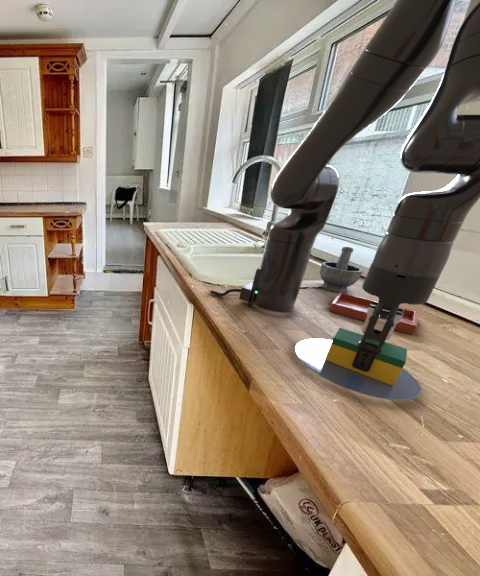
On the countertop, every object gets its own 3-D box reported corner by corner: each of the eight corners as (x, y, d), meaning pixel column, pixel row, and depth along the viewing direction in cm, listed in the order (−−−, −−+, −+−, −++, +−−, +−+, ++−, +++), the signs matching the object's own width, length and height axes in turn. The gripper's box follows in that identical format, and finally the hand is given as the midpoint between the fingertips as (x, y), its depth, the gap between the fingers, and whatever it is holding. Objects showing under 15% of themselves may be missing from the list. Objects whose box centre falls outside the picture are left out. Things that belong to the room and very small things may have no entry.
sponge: (324, 359, 53) (333, 337, 52) (331, 348, 57) (339, 327, 55) (393, 386, 47) (405, 361, 46) (395, 371, 51) (407, 348, 49)
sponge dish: (329, 310, 76) (331, 303, 75) (337, 299, 83) (340, 292, 83) (413, 334, 66) (417, 326, 65) (413, 319, 74) (417, 311, 73)
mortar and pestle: (353, 297, 85) (369, 256, 81) (313, 288, 91) (326, 249, 86) (353, 287, 93) (368, 248, 89) (317, 279, 99) (329, 242, 94)
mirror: (280, 367, 53) (282, 361, 52) (305, 334, 64) (307, 329, 64) (417, 425, 42) (421, 418, 41) (418, 373, 53) (421, 367, 53)
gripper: (377, 254, 53) (343, 338, 59) (366, 268, 43) (326, 368, 49) (439, 264, 48) (395, 356, 54) (442, 284, 38) (387, 392, 45)
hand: (362, 361), depth 52 cm, fingers closed on sponge, 5 cm apart
